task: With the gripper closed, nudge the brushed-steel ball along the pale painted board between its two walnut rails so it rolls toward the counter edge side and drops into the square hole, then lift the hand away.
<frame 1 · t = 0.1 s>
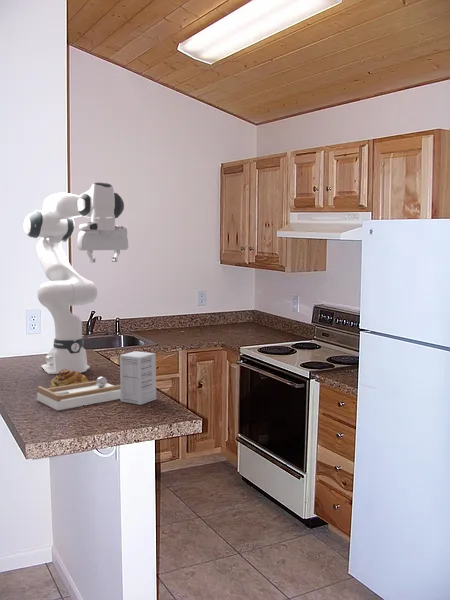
hand: (103, 262, 242), 48 cm above the worktop, tool pointing down, fingers open, 8 cm apart
supplement box: (138, 401, 225), on the worktop
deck: (81, 399, 226), on the worktop
pastry: (70, 389, 242), on the worktop
ball: (101, 382, 231), point 5 cm above the worktop, touching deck
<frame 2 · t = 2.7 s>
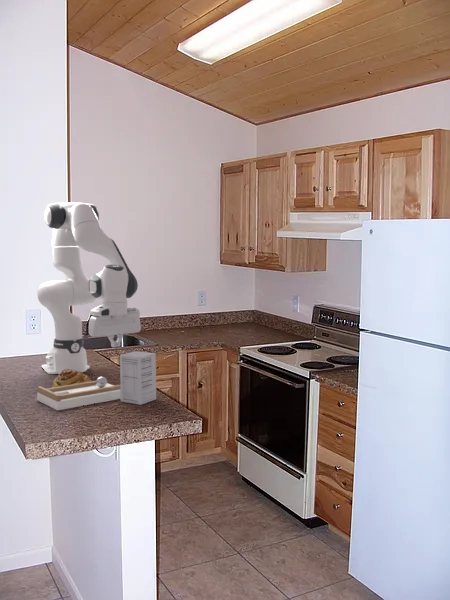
hand: (115, 346, 233), 17 cm above the worktop, tool pointing down, fingers closed
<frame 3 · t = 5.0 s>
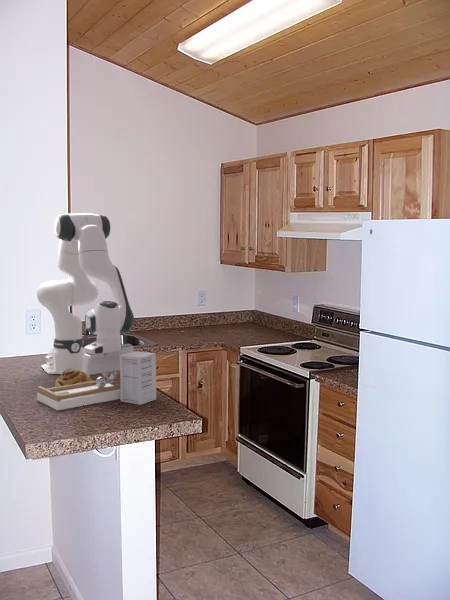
hand: (109, 383, 233), 4 cm above the worktop, tool pointing down, fingers closed
ball: (100, 382, 231), point 5 cm above the worktop, tilted 5°, touching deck, gripper
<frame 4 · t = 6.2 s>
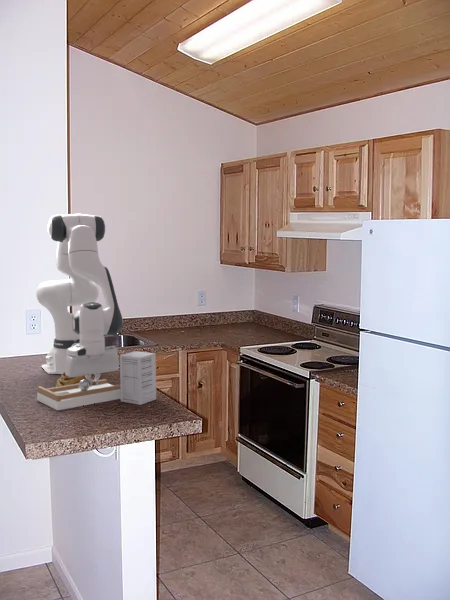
hand: (92, 385, 228), 4 cm above the worktop, tool pointing down, fingers closed
ball: (84, 385, 226), point 5 cm above the worktop, tilted 158°, touching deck, gripper
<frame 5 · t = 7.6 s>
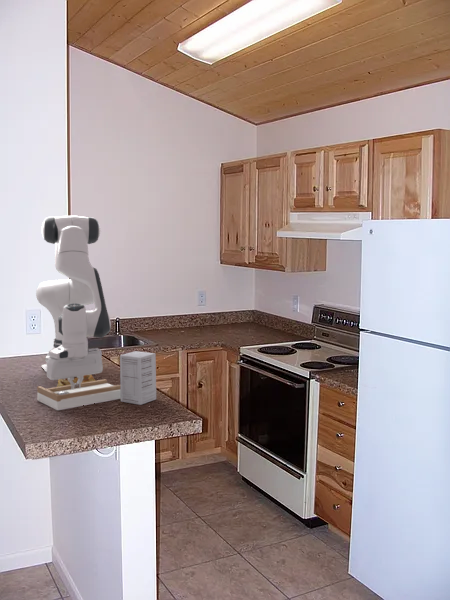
hand: (75, 388, 224), 4 cm above the worktop, tool pointing down, fingers closed
ball: (62, 397, 221), point 2 cm above the worktop, tilted 147°
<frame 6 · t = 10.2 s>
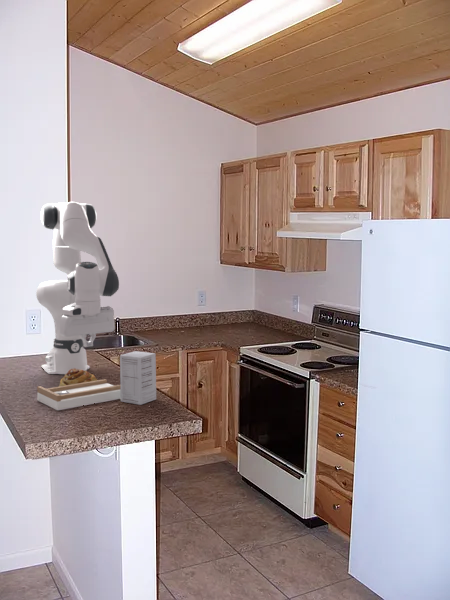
hand: (88, 346, 226), 19 cm above the worktop, tool pointing down, fingers closed
ball: (64, 396, 222), point 2 cm above the worktop, tilted 120°
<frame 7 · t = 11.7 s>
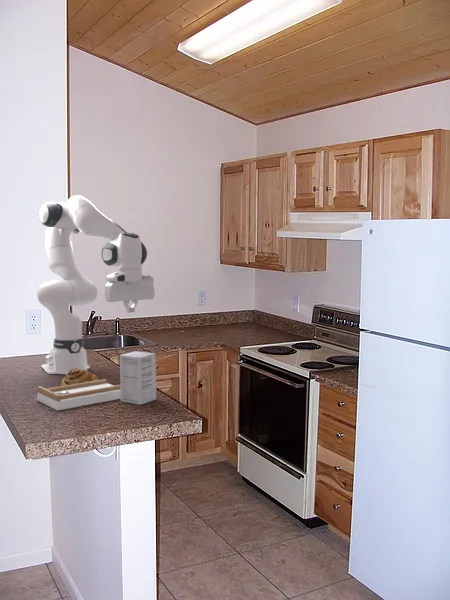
hand: (130, 312, 241), 29 cm above the worktop, tool pointing down, fingers closed
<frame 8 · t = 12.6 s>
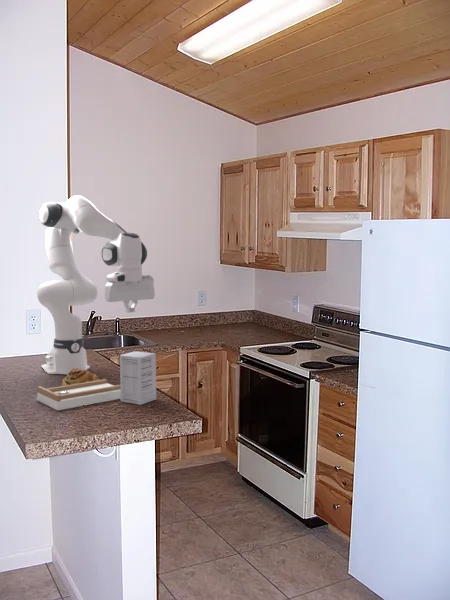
hand: (130, 312, 241), 29 cm above the worktop, tool pointing down, fingers closed
at the end: ball 0.3 cm from the target spot on the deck, point 2.0 cm above the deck's base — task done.
